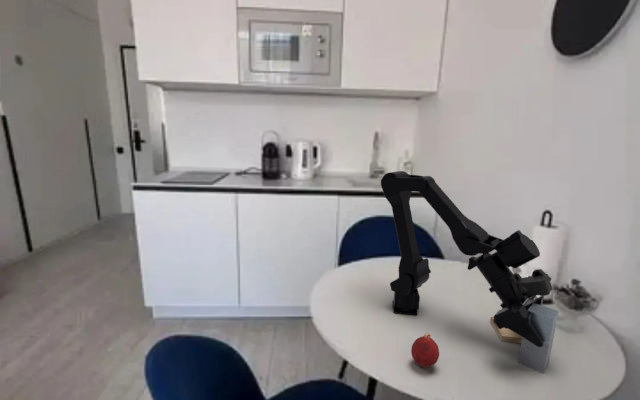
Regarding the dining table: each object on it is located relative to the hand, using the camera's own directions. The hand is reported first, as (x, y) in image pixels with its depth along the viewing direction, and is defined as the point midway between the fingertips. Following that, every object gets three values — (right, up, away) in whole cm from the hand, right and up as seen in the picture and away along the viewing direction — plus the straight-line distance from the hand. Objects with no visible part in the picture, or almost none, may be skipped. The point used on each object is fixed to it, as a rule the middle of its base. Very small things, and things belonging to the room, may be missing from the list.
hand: (545, 339), depth 81 cm
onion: (-27, -6, 0) cm, 28 cm away
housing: (-1, -6, +2) cm, 7 cm away
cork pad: (0, -4, +14) cm, 14 cm away
